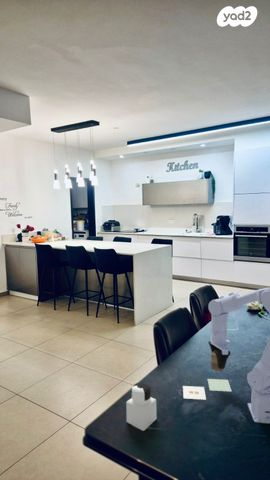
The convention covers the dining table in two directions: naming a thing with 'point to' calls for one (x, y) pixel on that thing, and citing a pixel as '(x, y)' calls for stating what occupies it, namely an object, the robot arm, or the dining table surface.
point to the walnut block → (214, 362)
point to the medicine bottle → (141, 407)
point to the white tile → (194, 392)
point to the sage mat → (219, 385)
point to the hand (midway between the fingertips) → (218, 364)
